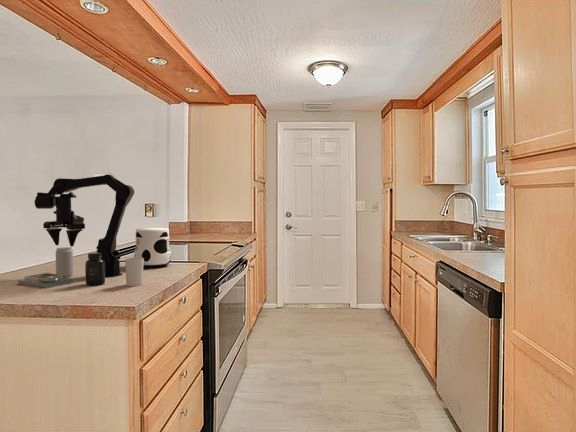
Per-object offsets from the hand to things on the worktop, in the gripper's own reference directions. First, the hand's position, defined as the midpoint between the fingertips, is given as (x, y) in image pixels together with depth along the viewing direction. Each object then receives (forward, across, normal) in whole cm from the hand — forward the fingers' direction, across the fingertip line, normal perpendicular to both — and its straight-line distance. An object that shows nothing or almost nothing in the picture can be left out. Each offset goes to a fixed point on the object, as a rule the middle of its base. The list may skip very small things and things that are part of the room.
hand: (64, 245), depth 179 cm
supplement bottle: (+13, -25, +6) cm, 29 cm away
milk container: (+13, -14, -37) cm, 41 cm away
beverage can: (+13, 0, 0) cm, 13 cm away
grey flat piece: (+13, -7, +13) cm, 20 cm away
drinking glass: (+13, -39, 0) cm, 41 cm away
